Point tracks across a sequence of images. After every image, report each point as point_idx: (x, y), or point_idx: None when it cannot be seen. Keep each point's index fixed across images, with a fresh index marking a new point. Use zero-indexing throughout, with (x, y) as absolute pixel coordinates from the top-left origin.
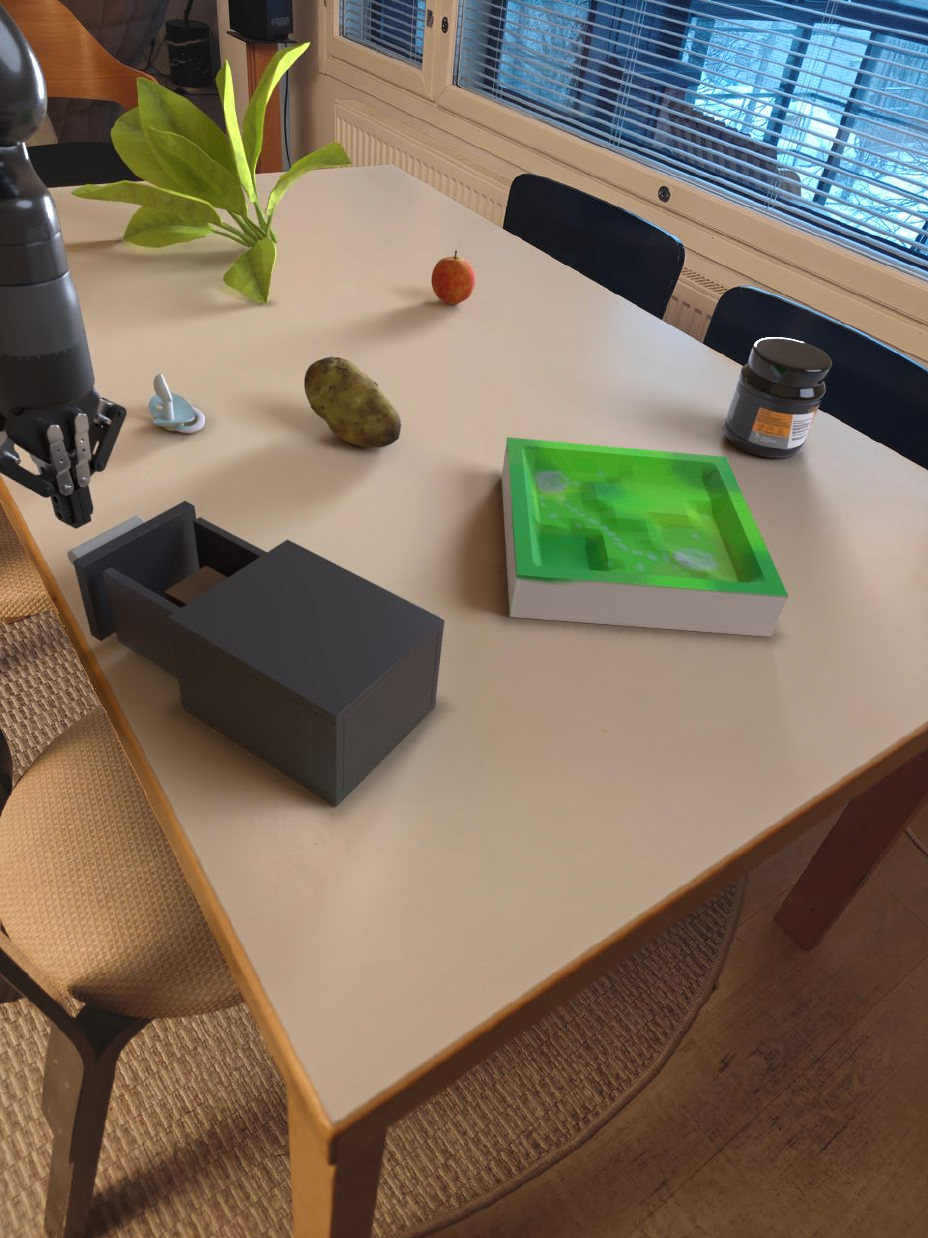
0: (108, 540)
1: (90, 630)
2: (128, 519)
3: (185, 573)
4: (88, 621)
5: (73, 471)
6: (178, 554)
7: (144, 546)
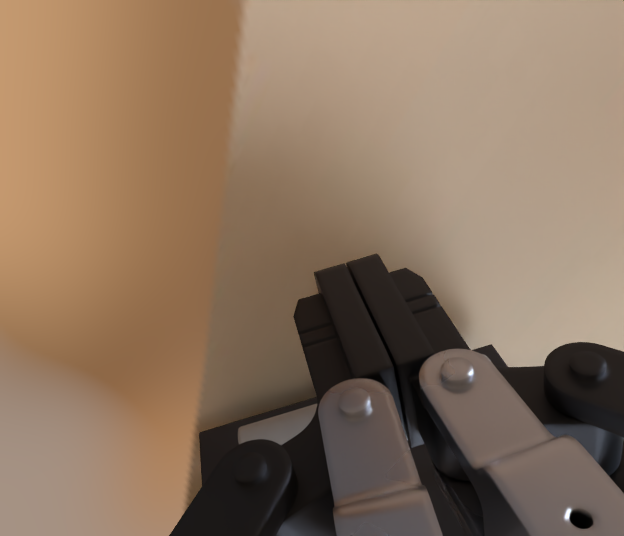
0: None
1: (200, 447)
2: None
3: None
4: (201, 468)
5: (457, 511)
6: None
7: None
